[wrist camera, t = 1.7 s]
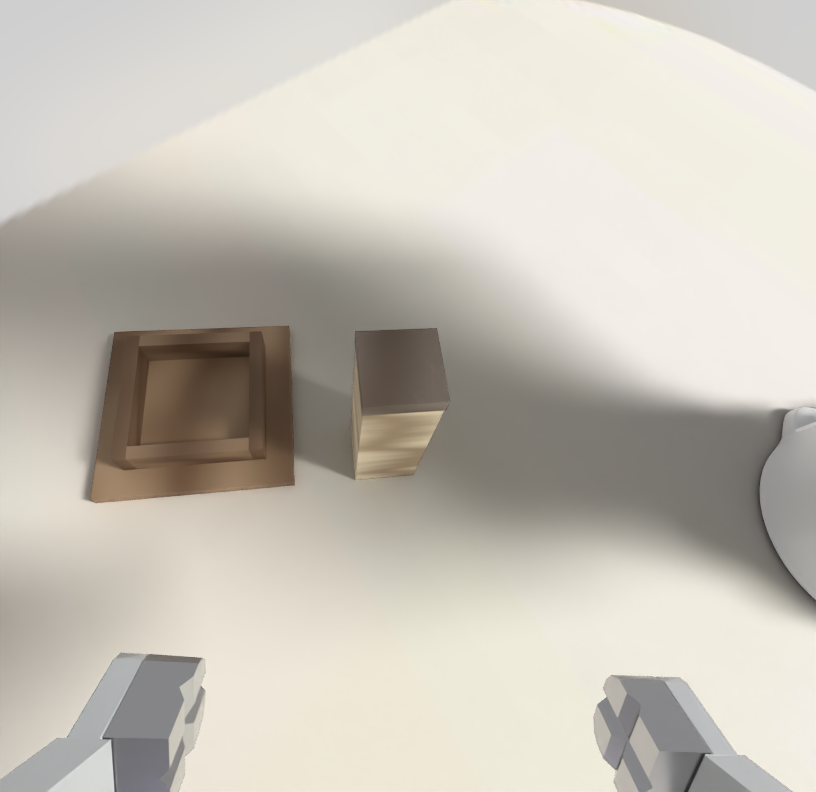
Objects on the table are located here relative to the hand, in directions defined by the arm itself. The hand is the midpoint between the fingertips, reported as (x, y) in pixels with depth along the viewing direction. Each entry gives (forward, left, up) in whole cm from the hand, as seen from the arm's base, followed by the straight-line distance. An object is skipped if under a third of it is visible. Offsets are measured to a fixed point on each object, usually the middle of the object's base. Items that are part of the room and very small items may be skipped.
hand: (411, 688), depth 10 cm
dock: (+10, -16, -21) cm, 28 cm away
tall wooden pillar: (-2, -12, -21) cm, 25 cm away
